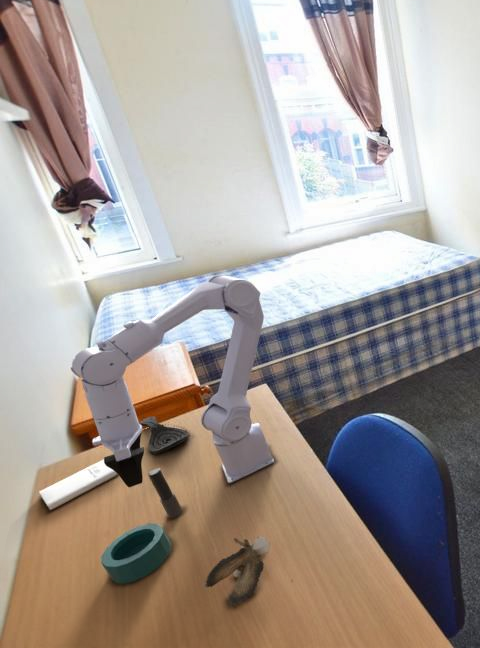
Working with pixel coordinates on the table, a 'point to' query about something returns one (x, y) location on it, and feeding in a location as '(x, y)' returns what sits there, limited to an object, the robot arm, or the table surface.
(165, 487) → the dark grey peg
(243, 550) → the eagle figurine
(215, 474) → the table surface
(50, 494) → the hard drive
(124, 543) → the teal hollow cylinder
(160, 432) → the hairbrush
